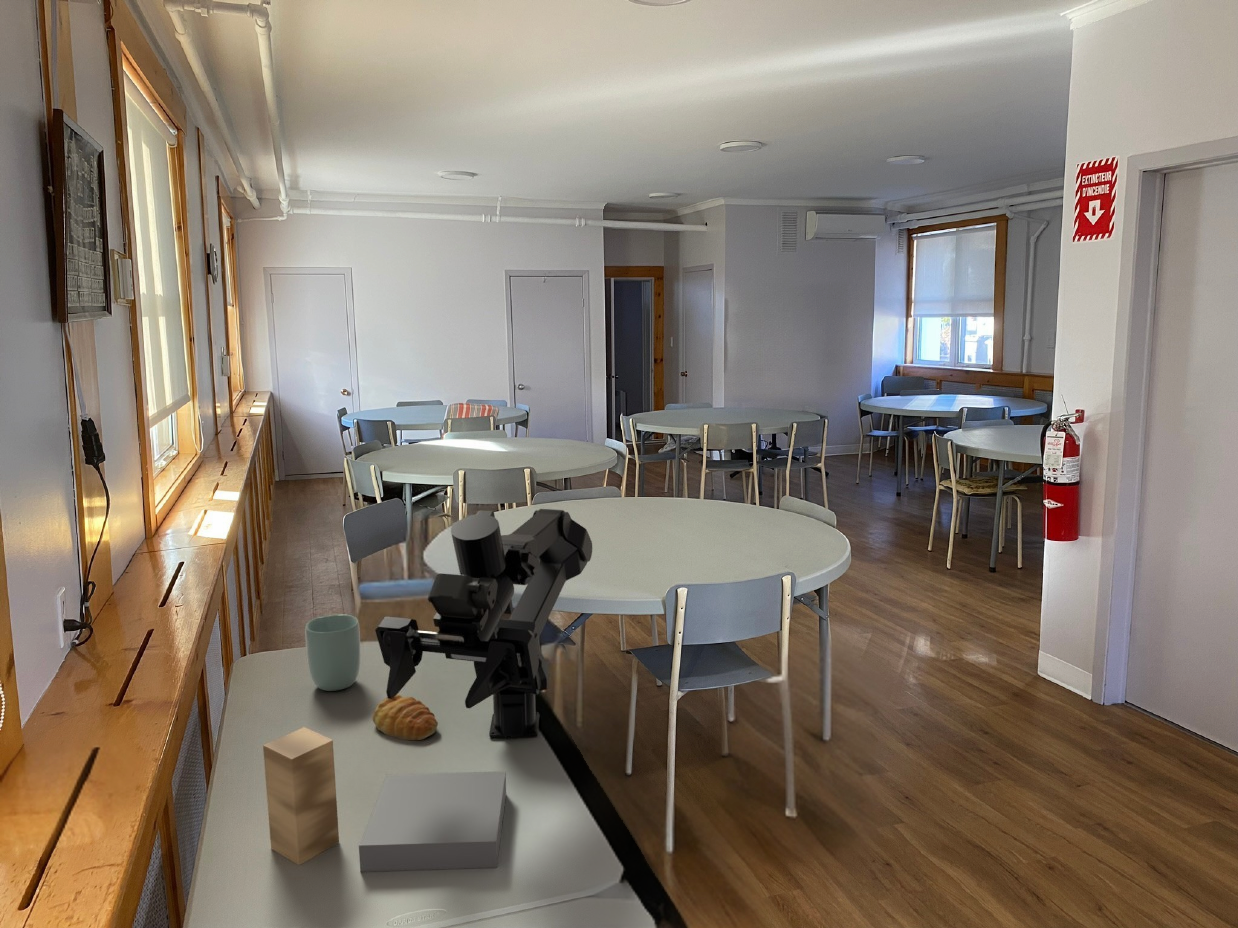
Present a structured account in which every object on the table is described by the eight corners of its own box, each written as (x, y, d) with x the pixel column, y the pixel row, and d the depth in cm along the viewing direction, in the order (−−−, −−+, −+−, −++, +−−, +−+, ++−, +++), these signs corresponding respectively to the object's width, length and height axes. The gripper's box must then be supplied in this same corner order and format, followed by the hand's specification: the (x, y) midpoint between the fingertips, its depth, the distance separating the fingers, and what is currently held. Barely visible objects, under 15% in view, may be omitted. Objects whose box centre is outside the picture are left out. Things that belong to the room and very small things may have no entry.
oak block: (310, 826, 102) (304, 726, 99) (339, 842, 99) (332, 739, 96) (271, 848, 98) (263, 744, 95) (299, 865, 95) (291, 759, 92)
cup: (308, 679, 140) (303, 617, 138) (360, 671, 143) (356, 611, 141) (309, 699, 133) (305, 635, 131) (364, 691, 136) (361, 628, 134)
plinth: (387, 797, 107) (386, 774, 107) (506, 794, 108) (505, 771, 107) (360, 871, 94) (358, 845, 93) (496, 867, 94) (496, 841, 94)
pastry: (450, 730, 124) (449, 704, 124) (412, 749, 119) (410, 723, 118) (405, 711, 130) (404, 686, 129) (367, 729, 125) (365, 703, 124)
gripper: (396, 549, 109) (331, 634, 96) (544, 560, 104) (497, 651, 91) (414, 621, 114) (355, 711, 101) (555, 634, 110) (512, 731, 97)
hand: (427, 700), depth 98 cm, fingers open, 9 cm apart
